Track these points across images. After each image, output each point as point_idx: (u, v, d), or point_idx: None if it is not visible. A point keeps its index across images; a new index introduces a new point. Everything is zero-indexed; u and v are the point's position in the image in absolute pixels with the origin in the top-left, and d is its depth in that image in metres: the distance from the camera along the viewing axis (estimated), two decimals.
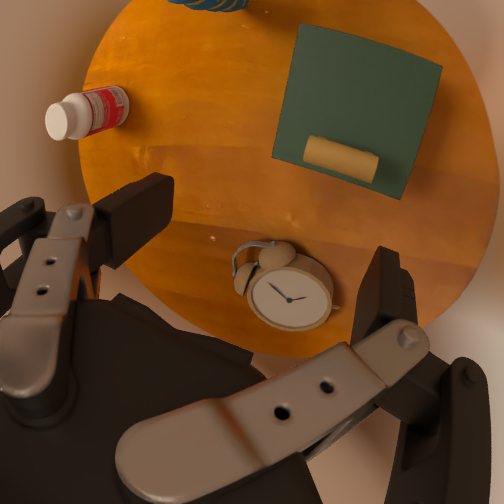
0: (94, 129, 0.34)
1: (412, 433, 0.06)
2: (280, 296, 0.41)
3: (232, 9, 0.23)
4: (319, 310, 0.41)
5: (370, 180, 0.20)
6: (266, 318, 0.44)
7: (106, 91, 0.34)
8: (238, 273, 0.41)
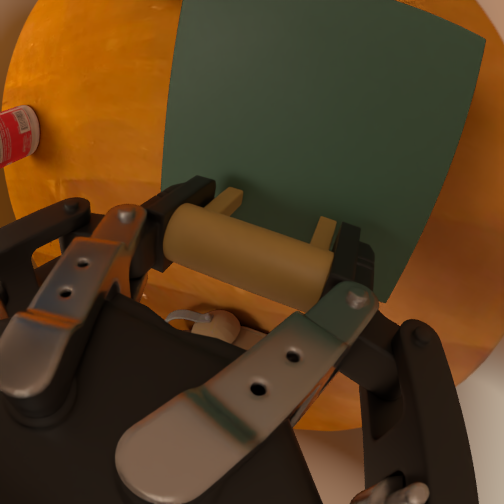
0: None
1: (374, 401, 0.07)
2: None
3: None
4: None
5: None
6: None
7: (8, 115, 0.23)
8: None
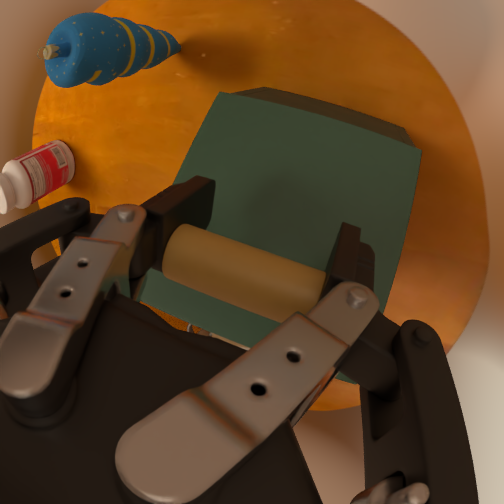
0: (37, 197, 0.31)
1: (374, 402, 0.07)
2: None
3: (151, 66, 0.20)
4: None
5: None
6: None
7: (46, 152, 0.31)
8: None
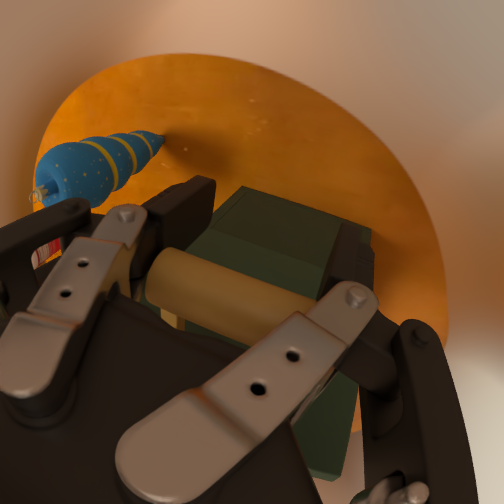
0: (43, 261, 0.35)
1: (374, 401, 0.07)
2: None
3: (135, 173, 0.24)
4: None
5: None
6: None
7: None
8: None
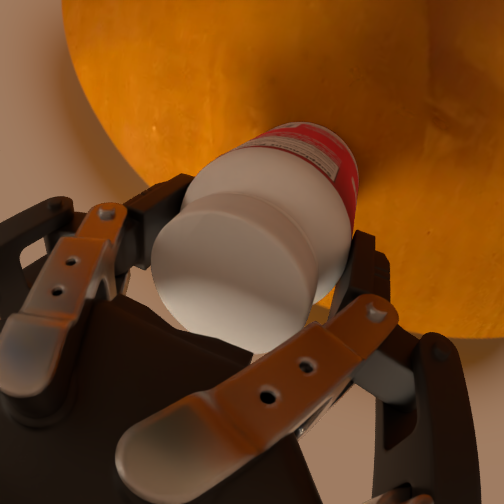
0: (337, 177, 0.10)
1: (389, 412, 0.07)
2: None
3: None
4: None
5: None
6: None
7: None
8: None
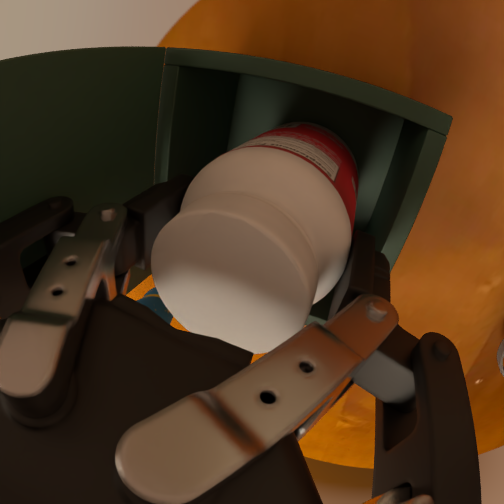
0: (337, 177, 0.10)
1: (389, 412, 0.07)
2: None
3: (162, 317, 0.24)
4: None
5: None
6: None
7: None
8: None
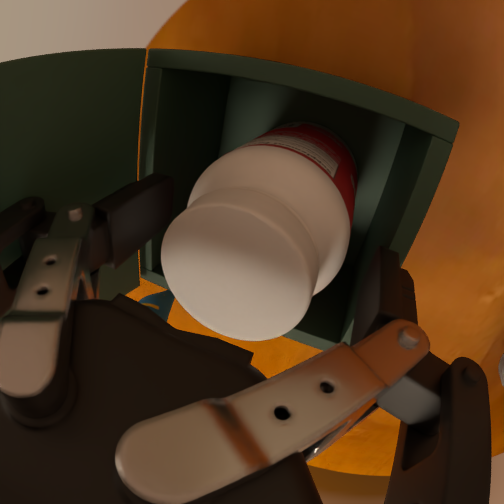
0: (337, 174, 0.11)
1: (412, 433, 0.06)
2: None
3: None
4: None
5: None
6: None
7: None
8: None
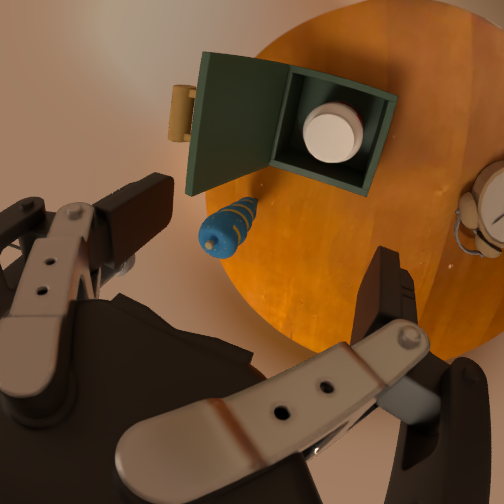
0: (357, 115, 0.29)
1: (412, 433, 0.06)
2: None
3: (253, 210, 0.41)
4: None
5: None
6: None
7: None
8: (480, 250, 0.34)
